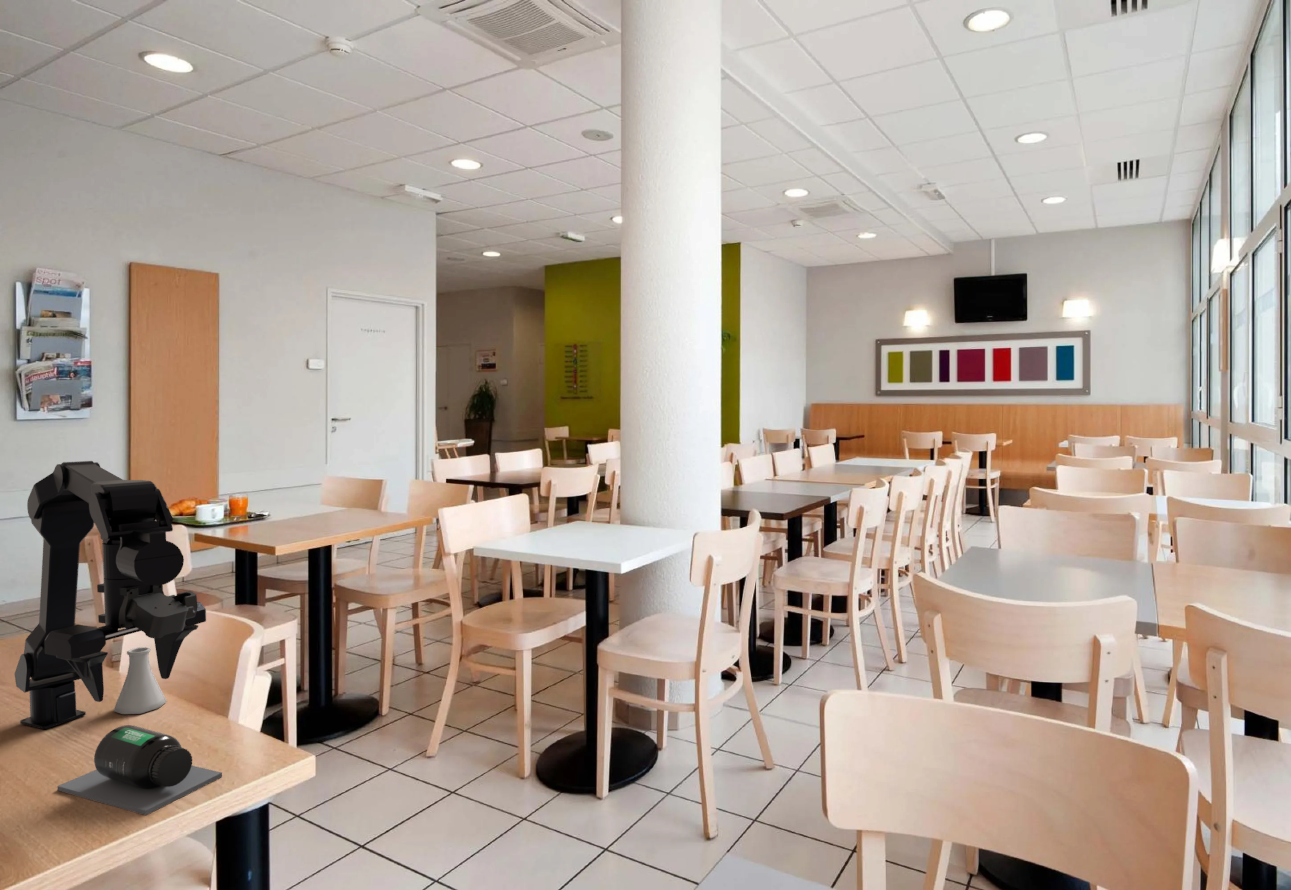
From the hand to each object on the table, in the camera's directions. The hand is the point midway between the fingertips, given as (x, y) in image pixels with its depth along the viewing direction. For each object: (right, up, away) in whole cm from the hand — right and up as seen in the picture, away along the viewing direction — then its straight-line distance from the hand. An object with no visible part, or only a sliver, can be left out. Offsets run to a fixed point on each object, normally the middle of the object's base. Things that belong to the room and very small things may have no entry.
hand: (133, 689), depth 107 cm
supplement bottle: (-3, -9, +2) cm, 9 cm away
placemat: (+1, -13, 0) cm, 13 cm away
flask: (-16, -12, +27) cm, 34 cm away
